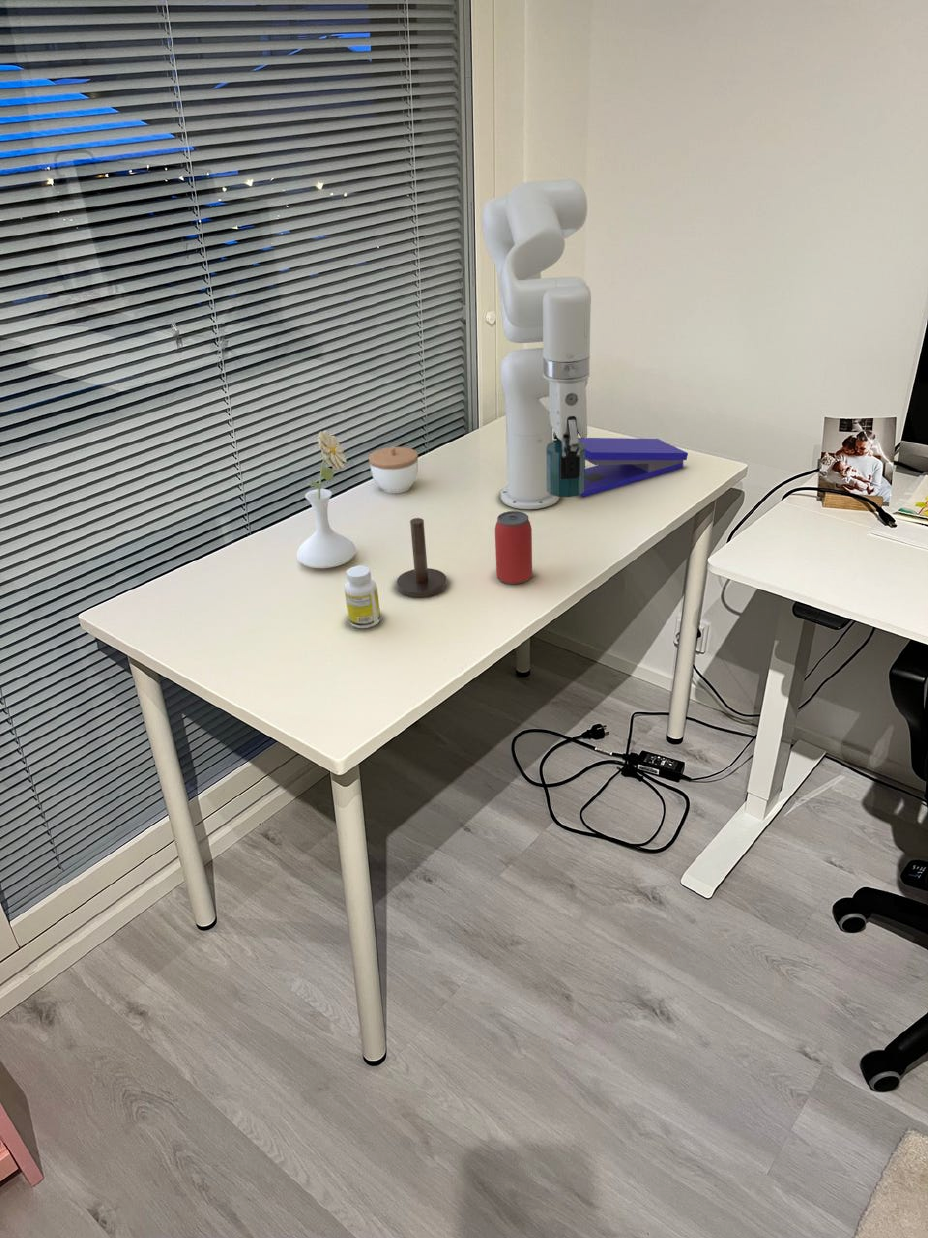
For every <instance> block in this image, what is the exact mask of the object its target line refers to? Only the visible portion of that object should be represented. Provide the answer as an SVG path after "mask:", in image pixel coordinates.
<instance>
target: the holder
mask: <svg viewBox="0 0 928 1238" xmlns="http://www.w3.org/2000/svg"><path fill="white" fill-rule="evenodd" d="M409 524H410V525H409V528H410V535H411V536H410V537H411V548H412V549H411V550H412V560H413V569H410V570H408V571H405V572H403V573H402V574H400V575H399V576H398V577H397V580H396V586H397V587H396V588H397V590H398V592H399V593H400V594H402V595H404V596H405V597H409V598H410V597H411V598H415V599H416V598H418V599H422V598H423V599H424V598H429V597H433V596H436V595H439V594H440V593H442V592H443V591H444V590H445V589H446V588H447V584H448V581H447V576H446V574H445V573H444V572H442V571H441V570H438V569H435V568H429V567H428V560H427V559H428V558H427V557H428V556H427V546H426V545H427V543H426V533H425V531H426V530H425V520H424V519H423V518H422V517H421V518H420V517H416V518H411V520H409Z"/></svg>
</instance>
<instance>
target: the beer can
mask: <svg viewBox="0 0 928 1238" xmlns="http://www.w3.org/2000/svg"><path fill="white" fill-rule="evenodd" d="M532 529H533V528H532V525H531V521H530V519H529V515H528V514H527V513H525V512H523V511H518V510H510V511H505V512H502V513H499V515H498V516H497V518H496V523H495V526H494V547H495V548H494V549H495V574H496V578H497V579H498V580H499V581H500V582H502V583H505V584H508V585H509V584H510V585H520V584H523V583H526V582H527V581H528V580H530V579H531V577H532V575H533V537H532V535H533V533H532Z"/></svg>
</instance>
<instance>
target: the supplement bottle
mask: <svg viewBox="0 0 928 1238" xmlns="http://www.w3.org/2000/svg"><path fill="white" fill-rule="evenodd" d="M346 580H347V581H346V582H345V584H344V595H345V602H346V608H347V609H346V610H347V615H348V621H349V624H350V625H351V626H352V627H354V628H358V629H368V628H371V627H374V626H376V625H377V624H378V623H379V622H380V620H381V611H380V610H381V609H380V603H379V602H380V601H379V593H378V587H377V583H376V580H375V579H373V578H372V572H371V569H370V567H369V566H366V565H355V566H352V567H350V568H348V569H347V571H346Z"/></svg>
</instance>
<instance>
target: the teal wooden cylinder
mask: <svg viewBox="0 0 928 1238" xmlns="http://www.w3.org/2000/svg"><path fill="white" fill-rule="evenodd" d="M567 445H569V442H566V447H567ZM579 452H580V476H579V478H571V479H561V477H560V456H562V444H561V440H558V441H554V442H553V441H552V442H551V443H549V444H548V445H547V492H548V493H549V494H551V495H553V496H557V497H559V498H572V497H578V496H579V495H580V494H582V493H583V492H584V490H585V469H586V460H585V444H583V443H582V442H580V441H579Z"/></svg>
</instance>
